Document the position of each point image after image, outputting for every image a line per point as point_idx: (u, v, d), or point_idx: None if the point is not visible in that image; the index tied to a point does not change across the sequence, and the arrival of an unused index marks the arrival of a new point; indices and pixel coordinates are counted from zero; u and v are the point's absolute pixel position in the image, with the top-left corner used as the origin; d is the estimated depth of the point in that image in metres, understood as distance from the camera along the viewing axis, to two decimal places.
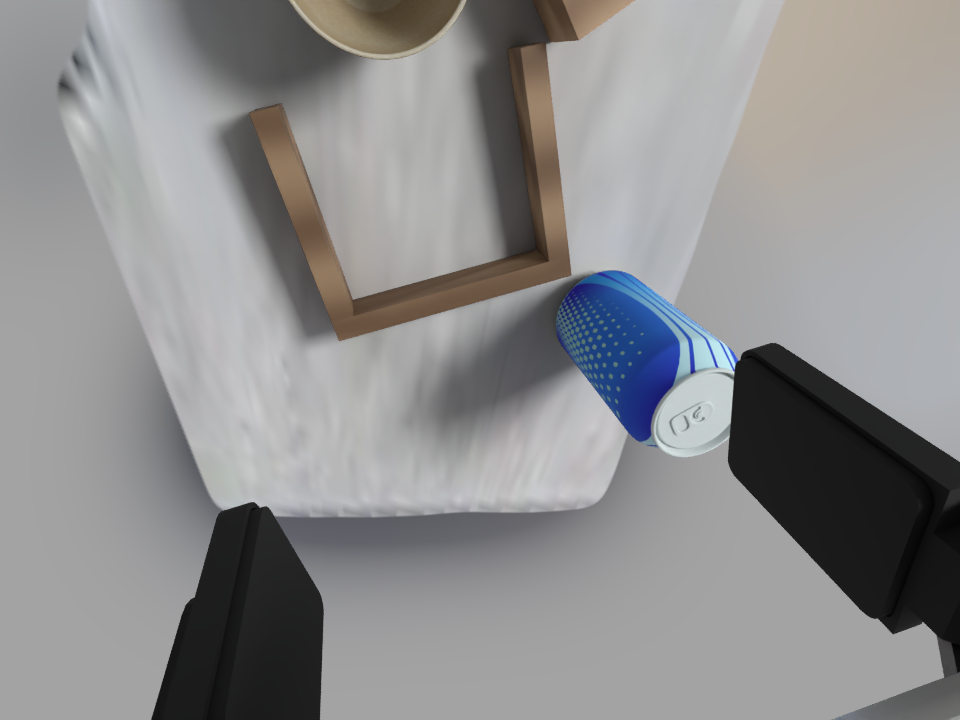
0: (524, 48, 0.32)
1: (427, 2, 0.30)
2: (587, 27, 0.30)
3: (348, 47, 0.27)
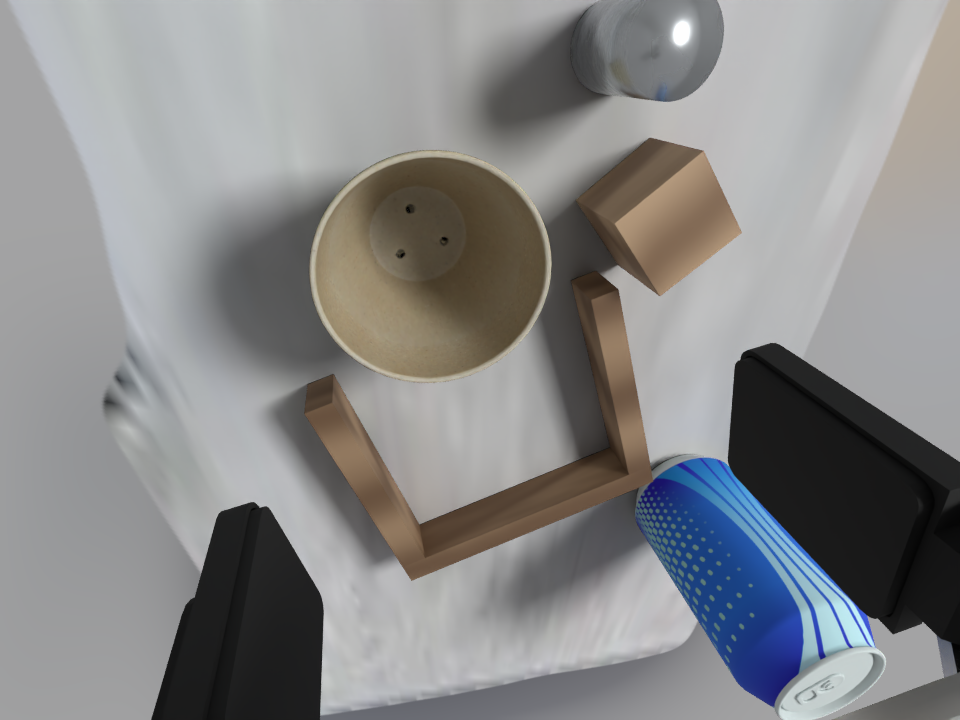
0: (595, 299, 0.28)
1: (487, 278, 0.27)
2: (668, 283, 0.27)
3: (413, 377, 0.24)
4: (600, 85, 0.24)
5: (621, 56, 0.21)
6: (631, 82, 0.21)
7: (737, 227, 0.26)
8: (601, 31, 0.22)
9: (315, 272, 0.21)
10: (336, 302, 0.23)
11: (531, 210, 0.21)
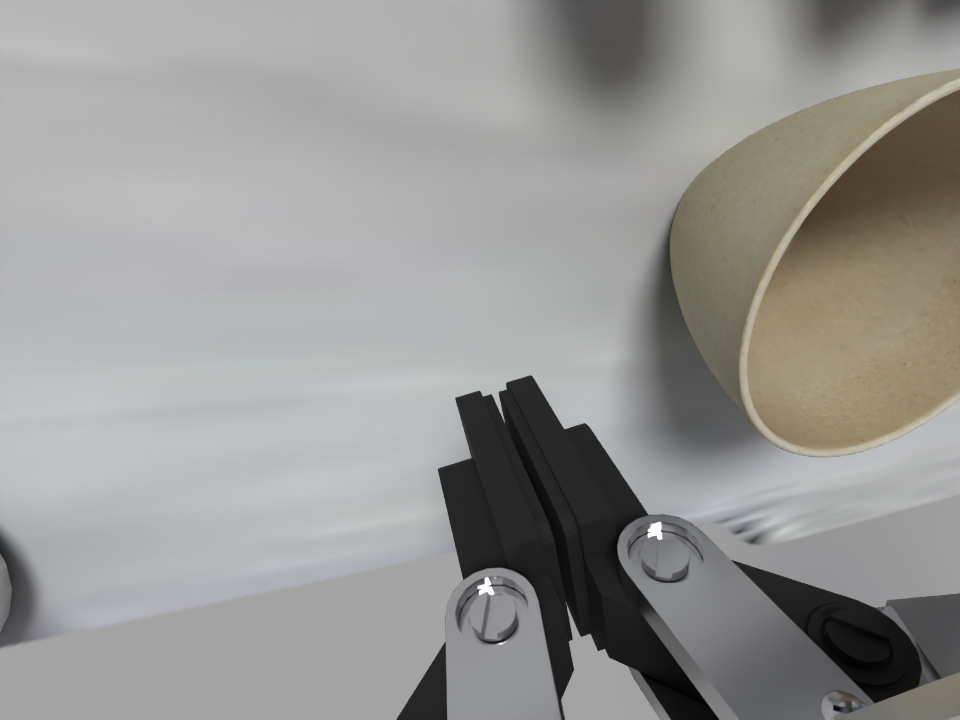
0: None
1: (878, 141, 0.16)
2: None
3: None
4: None
5: None
6: None
7: None
8: None
9: (819, 448, 0.15)
10: (831, 397, 0.17)
11: (925, 106, 0.10)
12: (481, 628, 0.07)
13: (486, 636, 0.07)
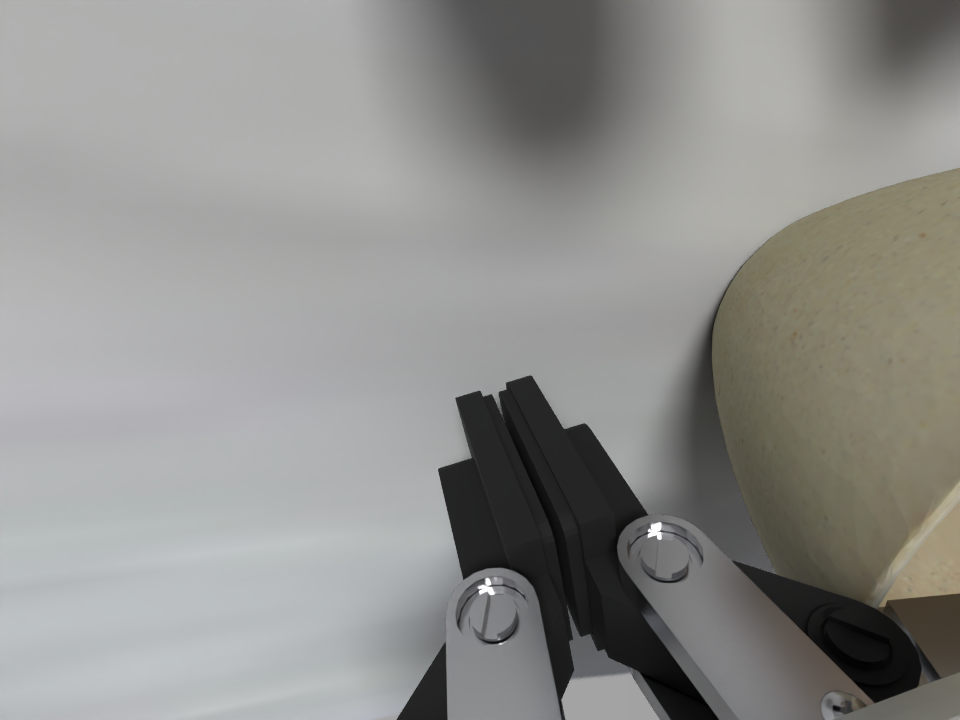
0: None
1: None
2: None
3: None
4: None
5: None
6: None
7: None
8: None
9: None
10: (957, 592, 0.11)
11: None
12: (481, 628, 0.07)
13: (486, 636, 0.07)
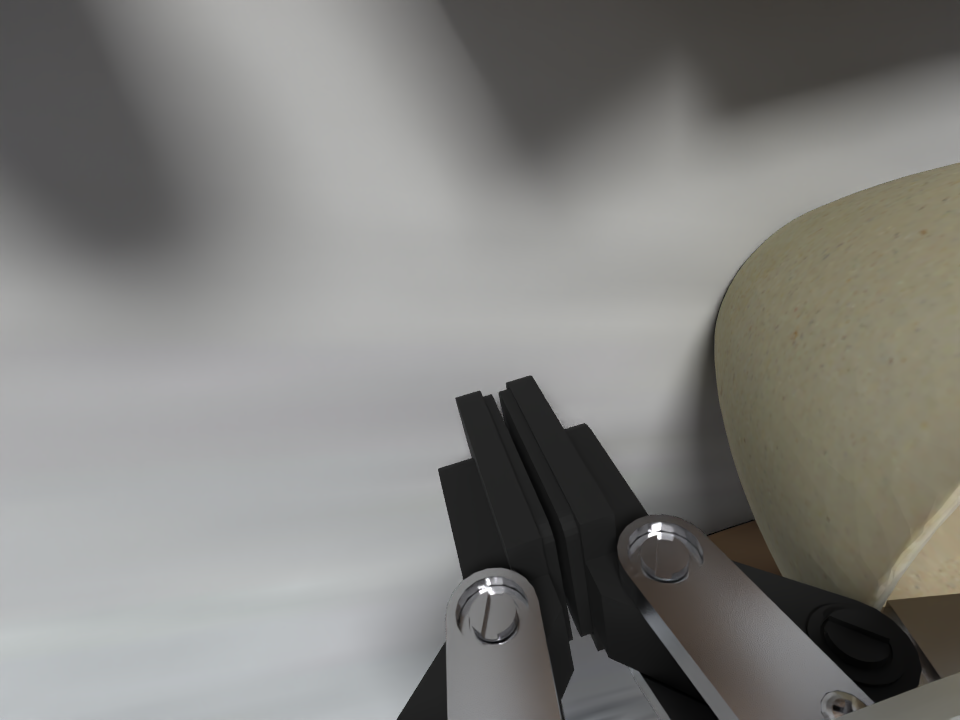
0: None
1: None
2: None
3: None
4: None
5: None
6: None
7: None
8: None
9: None
10: None
11: None
12: (481, 628, 0.07)
13: (486, 636, 0.07)
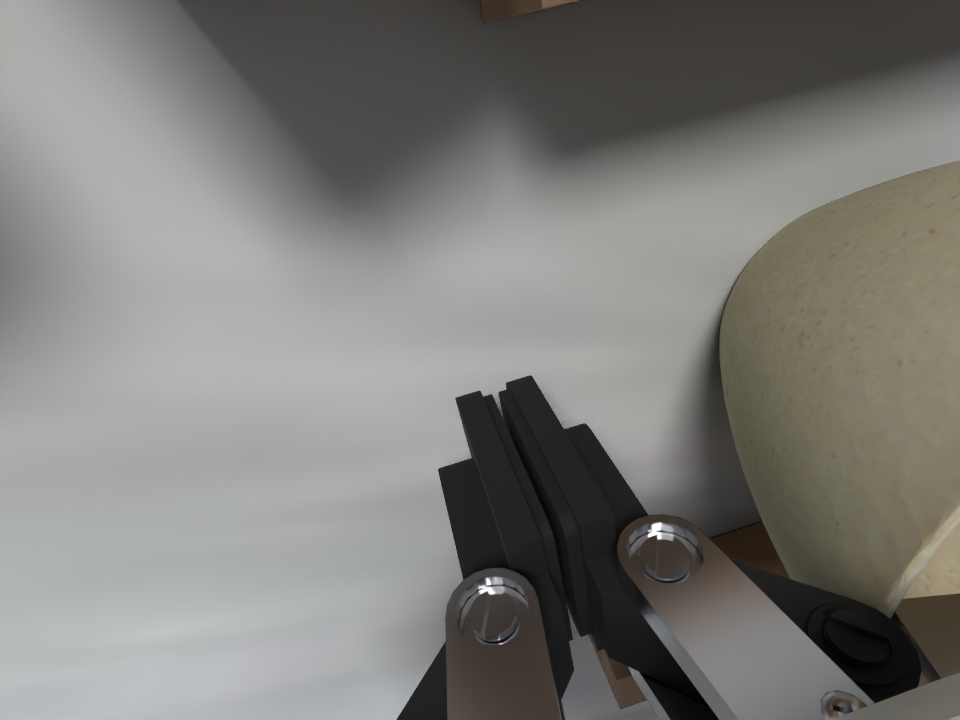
0: None
1: None
2: None
3: None
4: None
5: None
6: None
7: None
8: None
9: None
10: None
11: None
12: (481, 628, 0.07)
13: (486, 636, 0.07)
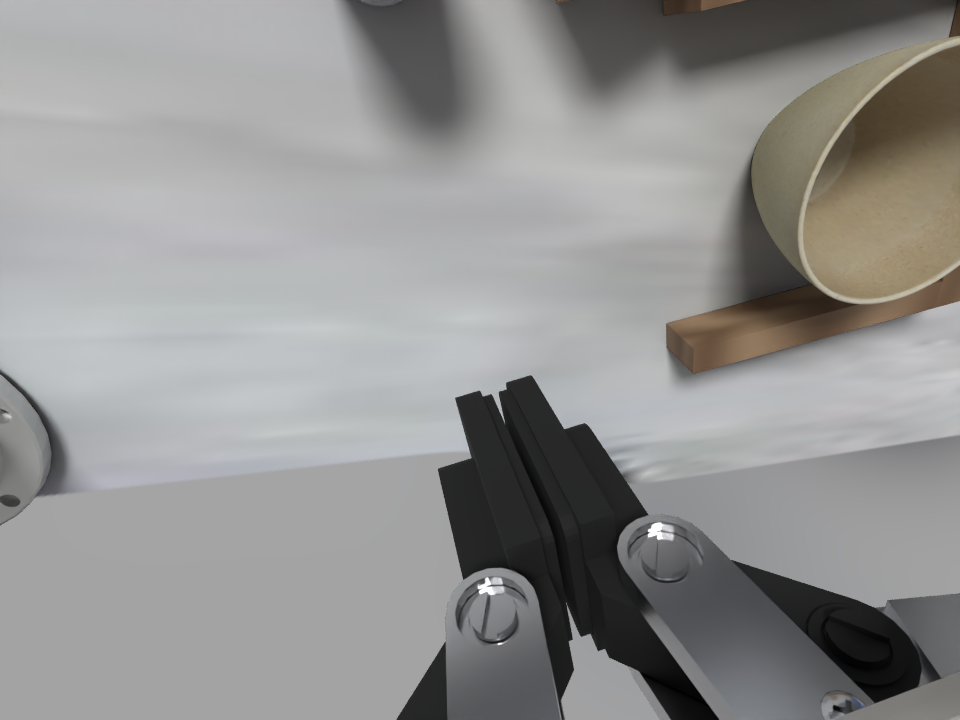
0: (702, 2, 0.19)
1: (905, 88, 0.23)
2: None
3: None
4: None
5: None
6: None
7: None
8: None
9: (852, 297, 0.23)
10: (866, 272, 0.24)
11: (917, 62, 0.18)
12: (481, 628, 0.07)
13: (486, 636, 0.07)
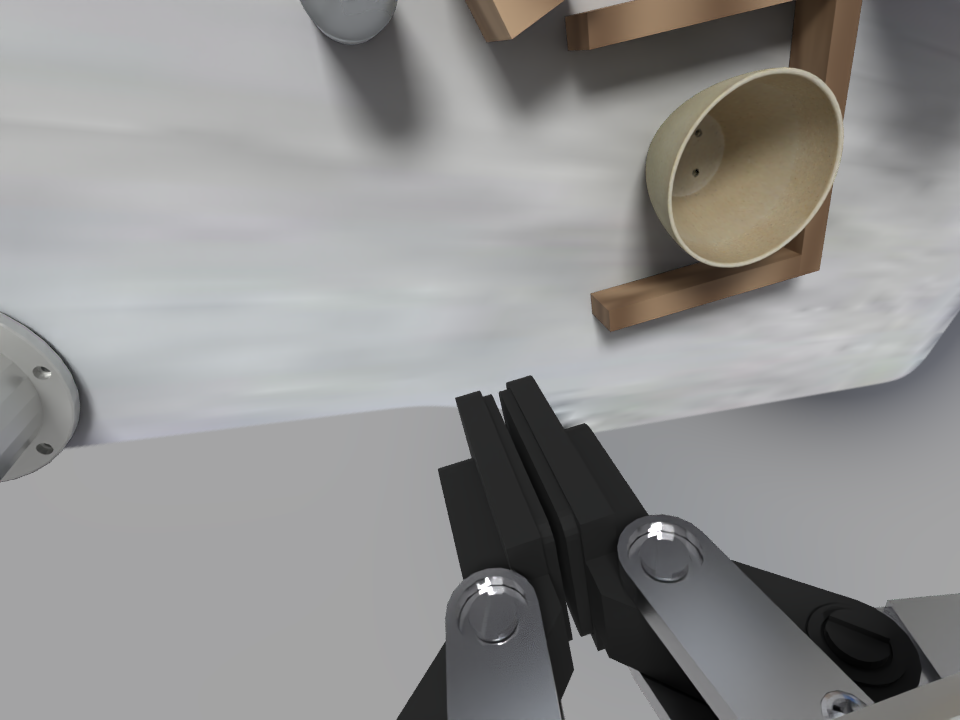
0: (590, 43, 0.26)
1: (751, 105, 0.30)
2: None
3: (819, 202, 0.29)
4: None
5: None
6: None
7: None
8: (336, 39, 0.24)
9: (717, 262, 0.30)
10: (732, 244, 0.31)
11: (737, 87, 0.25)
12: (481, 628, 0.07)
13: (486, 636, 0.07)
